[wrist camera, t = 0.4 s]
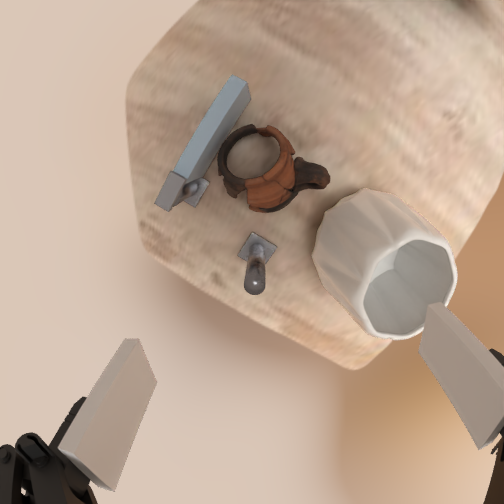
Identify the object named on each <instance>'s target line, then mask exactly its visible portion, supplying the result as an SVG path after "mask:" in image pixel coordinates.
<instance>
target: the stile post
mask: <svg viewBox="0 0 504 504" xmlns="http://www.w3.org/2000/svg"><path fill="white" fill-rule="evenodd" d="M276 248H277V246H276V245H274V244H272V243H271V242H269V241H267V240H266V239H264V238H262V237H261V236H259V235H257V234H256V233H254V232H252V233H251V235H250V236H249V238H248V239H247V241H246V242H245V244H244V246H243V247H242V249H241V250H240V252H239V254H238V256H239V257H240V258H242V259H244V260H245V261H247V268H246V275H245V281H244V288H245V290H246V291H247V292H248V293H249V294H252V295H258V294H260V293H262V292H263V291H264V289H265V264H266V263H267V261H268V260H269V258H270V257H271V256H272V254H273V253H274V251H275V250H276Z"/></svg>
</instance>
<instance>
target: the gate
mask: <svg viewBox="0 0 504 504" xmlns="http://www.w3.org/2000/svg"><path fill="white" fill-rule="evenodd" d="M250 100H251V96H250V92H249V88H248V83H247V82H246V81H244V80H242V79H240V78H238V77H236V76H234V75H231V76H230V78H229V79H228V81H227V82H226V84H225V85H224V87H223V88H222V90H221V91H220V93H219V94H218V96H217V97H216V99H215V100H214V102H213V103H212V105H211V107H210V108H209V110H208V111H207V113H206V115H205V116H204V118H203V119H202V121H201V123H200V124H199V126H198V128H197V129H196V131H195V133H194V134H193V136H192V138H191V140H190V141H189V143H188V145H187V147H186V148H185V150H184V152H183V154H182V155H181V157H180V159H179V161H178V163H177V165H176V166H175V168H174V170H173V171H170V173H169V175H168V177H167V179H166V181H165V183H164V185H163V187H162V189H161V191H160V193H159V195H158V197H157V199H156V201H155V203H154V204H156V205H158V206H159V207H161V208H163V209H164V210H166V211H168V212H169V211H170V210H171V209H172V207H173V205H174V203H175V201H176V199H177V198H178V196H179V194H180V192H181V190H182V188H183V186H184V184H185V183H188V182H191V181H193V180H196V179H199V178H201V177H203V176H204V174H205V172H206V171H207V169H208V167H209V165H210V164H211V162H212V160H213V159H214V157H215V155H216V154H217V152H218V150H219V149H220V147H221V145H222V144H223V142H224V140H225V139H226V137H227V136H228V134H229V132H230V131H231V129H232V128H233V126H234V124H235V123H236V121H237V120H238V118H239V117H240V115H241V113H242V112H243V110H244V109H245V107H246V106H247V104H248V103H249V101H250Z"/></svg>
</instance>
